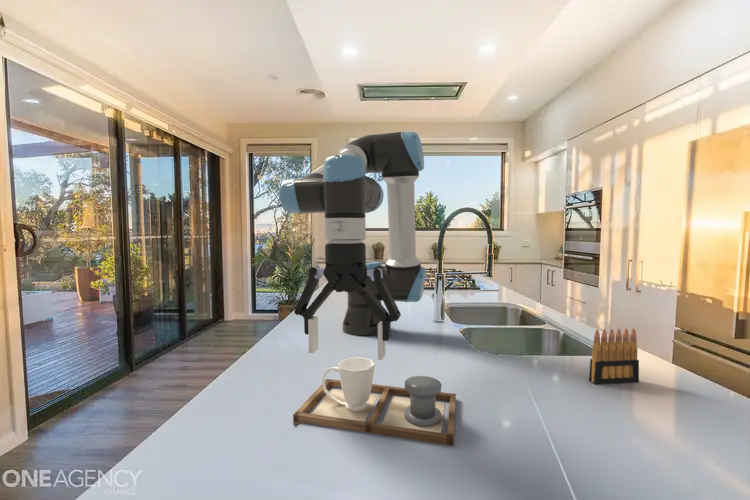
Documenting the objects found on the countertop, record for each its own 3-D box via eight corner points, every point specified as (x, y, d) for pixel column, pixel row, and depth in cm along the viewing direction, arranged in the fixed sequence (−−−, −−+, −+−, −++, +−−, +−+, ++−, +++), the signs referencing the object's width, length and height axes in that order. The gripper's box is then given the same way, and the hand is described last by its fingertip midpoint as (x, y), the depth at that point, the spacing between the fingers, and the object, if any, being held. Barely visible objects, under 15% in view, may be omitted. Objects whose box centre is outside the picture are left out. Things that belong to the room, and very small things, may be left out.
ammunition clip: (594, 384, 74) (596, 330, 74) (588, 381, 76) (590, 328, 76) (639, 382, 76) (641, 329, 75) (632, 379, 78) (633, 327, 77)
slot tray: (327, 387, 73) (327, 378, 73) (455, 402, 66) (455, 393, 66) (293, 424, 59) (293, 414, 59) (453, 449, 52) (453, 438, 52)
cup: (372, 416, 60) (372, 371, 60) (317, 413, 61) (317, 369, 61) (377, 397, 67) (377, 357, 67) (327, 394, 68) (327, 355, 68)
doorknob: (407, 405, 64) (407, 374, 64) (442, 410, 62) (442, 378, 62) (401, 424, 58) (401, 389, 57) (439, 429, 56) (440, 393, 56)
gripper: (274, 242, 62) (277, 355, 64) (409, 243, 56) (409, 368, 57) (294, 240, 70) (296, 342, 71) (415, 241, 63) (415, 352, 65)
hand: (346, 354), depth 64 cm, fingers open, 13 cm apart
